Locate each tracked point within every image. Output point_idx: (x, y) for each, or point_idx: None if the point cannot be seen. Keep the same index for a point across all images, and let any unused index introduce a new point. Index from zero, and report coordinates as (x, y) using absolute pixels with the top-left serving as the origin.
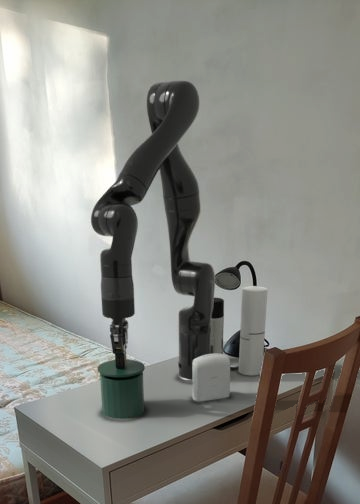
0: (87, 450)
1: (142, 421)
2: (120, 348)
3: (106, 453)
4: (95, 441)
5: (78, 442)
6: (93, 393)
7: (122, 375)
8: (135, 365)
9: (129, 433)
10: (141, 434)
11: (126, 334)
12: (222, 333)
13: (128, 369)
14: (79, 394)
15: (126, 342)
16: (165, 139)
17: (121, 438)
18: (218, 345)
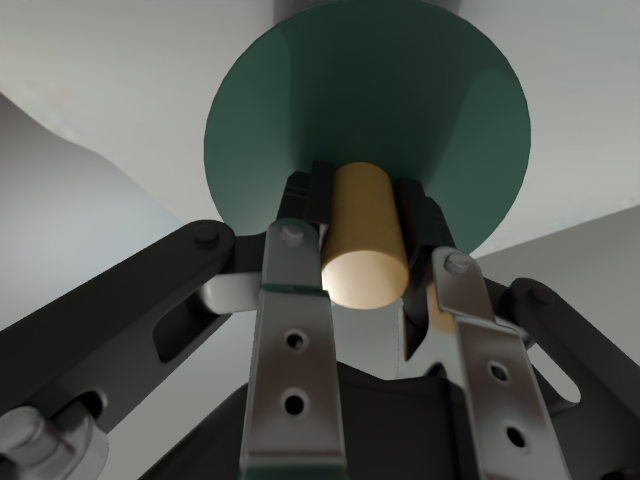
0: (576, 215)
1: (469, 16)
2: (343, 279)
3: (634, 171)
4: (536, 194)
5: (514, 231)
6: (182, 183)
7: (515, 195)
8: (353, 87)
9: (547, 87)
10: (587, 36)
11: (333, 374)
12: None
13: (430, 151)
14: (195, 220)
15: (235, 246)
16: None
17: (567, 119)
18: None
